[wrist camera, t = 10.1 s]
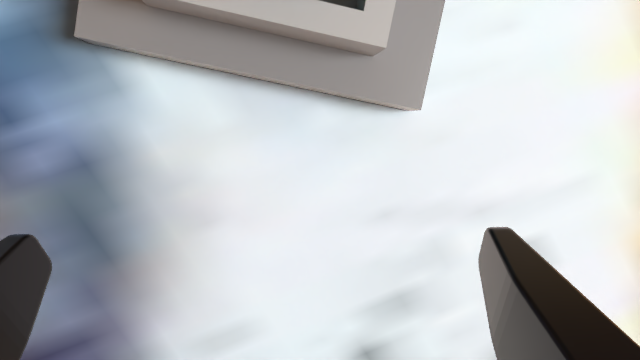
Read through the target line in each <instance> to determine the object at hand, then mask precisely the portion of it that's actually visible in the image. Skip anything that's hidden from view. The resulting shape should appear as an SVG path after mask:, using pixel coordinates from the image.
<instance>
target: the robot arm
mask: <svg viewBox="0 0 640 360" xmlns="http://www.w3.org/2000/svg"><path fill="white" fill-rule="evenodd" d="M51 271H52V263H51V260H50V258H49V257H48V255H47V254H46V252H45V251H44V249H43V248H42V246H41V245H40V243H39V241H38V240H37V239H36V237H34V236H33V235H30V234H14V235H10V236H7V237H6V238H4V239H3V240H1V241H0V360H20V358H21V356H22V354H23V351H24V349H25V347H26V344H27V342H28V339H29V337H30V334H31V331H32V328H33V325H34V322H35V319H36V316H37V313H38V310H39V307H40V304H41V301H42V298H43V295H44V292H45V289H46V286H47V283H48V280H49V277H50V274H51ZM479 271H480V276H481V282H482V288H483V294H484V299H485V305H486V311H487V316H488V322H489V328H490V333H491V338H492V343H493V346H494V350H495V354H496V357H497V360H640V346H639V345H638V344H636V343H635V342H634V341H633V340H632V339H631V338H630V337H629V336H628V335H627V334H626V333H624V332H623V331H622V330H621V329H620V328H619V327H618V326H617V325H616V324H615V323H614V322H612V321H611V320H610V319H609V318H608V317H607V316H606V315H605V314H604V313H603V312H601V311H600V310H599V309H598V308H597V307H596V306H595V305H594V304H593V303H592V302H591V301H589V300H588V299H587V298H586V297H585V296H584V295H583V294H582V293H581V292H580V291H579V290H577V289H576V288H575V287H574V286H573V285H572V284H571V283H570V282H569V281H568V280H567V279H565V278H564V277H563V276H562V275H561V274H560V273H559V272H558V271H557V270H556V269H555V268H553V267H552V266H551V265H550V264H549V263H548V262H547V261H546V260H545V259H544V258H543V257H541V256H540V255H539V254H538V253H537V252H536V251H535V250H534V249H533V248H532V247H531V246H529V245H528V244H527V243H526V242H525V241H524V240H523V239H522V238H521V237H520V236H519V235H517V234H516V233H515V232H514V231H513V230H512V229H510V228H508V227H490V228H487V229H486V231H485V233H484V237H483V241H482V245H481V250H480V254H479Z"/></svg>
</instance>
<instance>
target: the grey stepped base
mask: <svg viewBox="0 0 640 360" xmlns="http://www.w3.org/2000/svg"><path fill="white" fill-rule="evenodd" d="M444 3H445V0H79V3H78V11H77V18H76V25H75V33H74V37H77V38H79V39H81V40H84V41H86V42H88V43H91V44H95V45H100V46H105V47H109V48H114V49H119V50H124V51H128V52H133V53H138V54H143V55H147V56H152V57H157V58H161V59H166V60H171V61H176V62H180V63H185V64H190V65H195V66H199V67H204V68H209V69H213V70H218V71H223V72H228V73H232V74H237V75H242V76H247V77H251V78H256V79H261V80H265V81H270V82H275V83H280V84H284V85H289V86H294V87H299V88H303V89H308V90H313V91H317V92H322V93H327V94H332V95H336V96H341V97H346V98H351V99H355V100H360V101H365V102H369V103H374V104H379V105H384V106H388V107H393V108H398V109H403V110H407V111H415V110H421V107H422V103H423V98H424V94H425V89H426V85H427V80H428V75H429V71H430V66H431V62H432V57H433V53H434V48H435V44H436V39H437V35H438V30H439V26H440V21H441V17H442V12H443V7H444Z"/></svg>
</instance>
